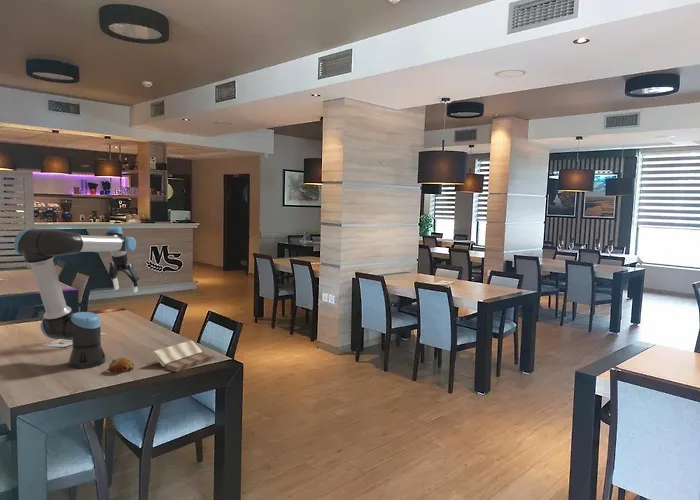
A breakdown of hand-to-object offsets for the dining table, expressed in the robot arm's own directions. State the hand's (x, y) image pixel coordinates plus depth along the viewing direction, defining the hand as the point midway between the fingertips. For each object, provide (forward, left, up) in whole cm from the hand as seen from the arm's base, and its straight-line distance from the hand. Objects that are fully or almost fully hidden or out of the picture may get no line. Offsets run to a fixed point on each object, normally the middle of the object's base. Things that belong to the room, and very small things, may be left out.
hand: (126, 290), depth 269 cm
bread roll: (-35, -48, -26) cm, 65 cm away
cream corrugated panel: (-13, -58, -23) cm, 63 cm away
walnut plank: (-13, -67, -26) cm, 73 cm away
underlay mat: (-13, -61, -26) cm, 67 cm away
